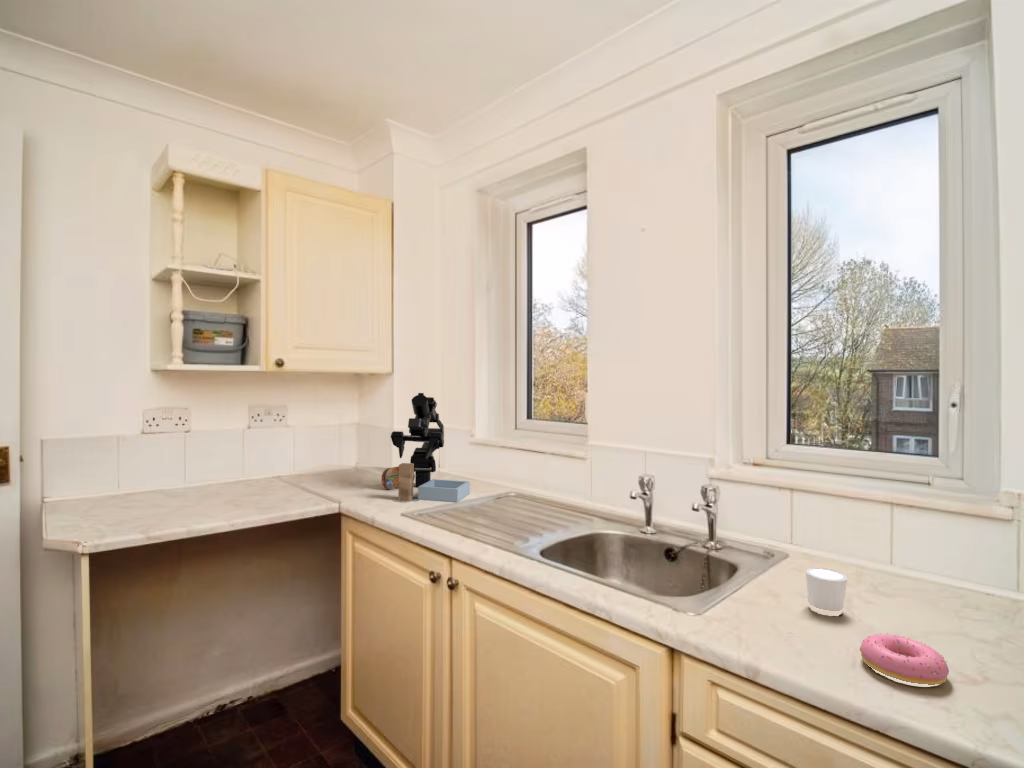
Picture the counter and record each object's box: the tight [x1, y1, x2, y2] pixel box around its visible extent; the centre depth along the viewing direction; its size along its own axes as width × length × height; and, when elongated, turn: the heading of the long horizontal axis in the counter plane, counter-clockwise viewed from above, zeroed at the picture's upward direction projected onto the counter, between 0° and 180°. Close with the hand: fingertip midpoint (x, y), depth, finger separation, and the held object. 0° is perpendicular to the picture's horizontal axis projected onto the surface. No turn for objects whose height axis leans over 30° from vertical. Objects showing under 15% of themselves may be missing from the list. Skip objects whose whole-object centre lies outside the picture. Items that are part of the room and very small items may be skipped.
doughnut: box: [859, 632, 950, 685], centre depth 83 cm, size 11×11×4 cm
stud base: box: [392, 496, 419, 504], centre depth 186 cm, size 9×9×3 cm
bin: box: [417, 478, 471, 503], centre depth 192 cm, size 14×14×5 cm
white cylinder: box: [805, 567, 848, 611], centre depth 104 cm, size 7×7×7 cm
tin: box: [381, 465, 415, 491], centre depth 206 cm, size 15×3×8 cm, turn 146°
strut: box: [397, 462, 415, 501], centre depth 186 cm, size 4×4×12 cm
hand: (413, 458), depth 194 cm, fingers open, 9 cm apart
